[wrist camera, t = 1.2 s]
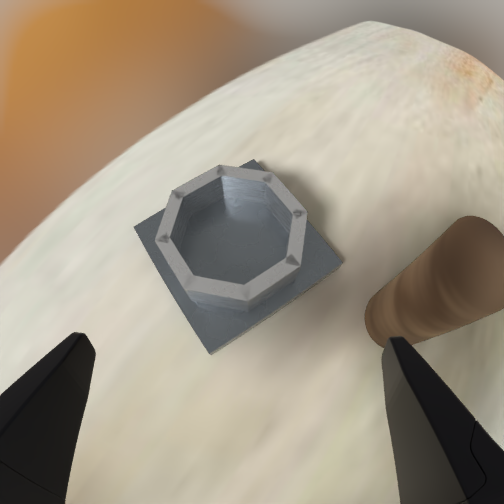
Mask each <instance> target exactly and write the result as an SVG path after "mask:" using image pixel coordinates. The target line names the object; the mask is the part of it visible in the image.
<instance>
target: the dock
mask: <svg viewBox="0 0 504 504" xmlns="http://www.w3.org/2000/svg"><path fill="white" fill-rule="evenodd" d="M307 213H308V211H307V210H306V209H305V208H304V207H303V206H302V205H301V204H300V202H299V201H298V200H297V199H296V198H295V197H294V196H293V194H292V193H291V192H290V191H289V190H288V189H287V188H286V187H285V185H284V184H283V183H282V182H281V181H280V180H279V179H278V178H277V177H276V175H275V174H274V173H273V172H266V171H264V170H263V169H262V168H261V166H260V165H259V164H258V163H257V162H256V161H255V160H254V159H253V160H251V161H249V162H247V163H245V164H243V165H242V166H240V167H232V166H224V165H218V166H216V167H214V168H212V169H210V170H209V171H207V172H205V173H203V174H201V175H199V176H198V177H196V178H194V179H192V180H190V181H188V182H187V183H185V184H183V185H181V186H180V187H178V188H176V189H174V190H172V192H171V195H170V198H169V200H168V203H167V206H166V208H164V209H163V210H161V211H159V212H158V213H156V214H154V215H153V216H151V217H149V218H148V219H146V220H144V221H143V222H141V223H139V224H138V225H136V226H134V229H135V230H136V232H137V234H138V236H139V238H140V240H141V241H142V243H143V245H144V247H145V249H146V251H147V252H148V254H149V256H150V258H151V259H152V261H153V263H154V265H155V266H156V268H157V270H158V272H159V273H160V275H161V277H162V279H163V280H164V282H165V284H166V285H167V287H168V289H169V290H170V292H171V294H172V295H173V297H174V299H175V300H176V302H177V304H178V305H179V307H180V309H181V310H182V312H183V314H184V315H185V317H186V318H187V320H188V322H189V323H190V325H191V326H192V328H193V330H194V331H195V333H196V334H197V336H198V337H199V339H200V340H201V342H202V344H203V345H204V347H205V348H206V350H207V351H208V353H209V354H210V355H212V354H214V353H215V352H217V351H218V350H220V349H221V348H223V347H225V346H226V345H228V344H229V343H231V342H232V341H234V340H235V339H237V338H238V337H240V336H241V335H243V334H244V333H246V332H247V331H249V330H251V329H252V328H254V327H255V326H257V325H258V324H260V323H261V322H262V321H264V320H265V319H267V318H268V317H270V316H271V315H273V314H274V313H276V312H277V311H279V310H280V309H282V308H283V307H284V306H286V305H287V304H289V303H290V302H292V301H293V300H295V299H296V298H297V297H299V296H300V295H302V294H303V293H305V292H306V291H307V290H309V289H310V288H312V287H313V286H314V285H316V284H317V283H319V282H320V281H321V280H323V279H324V278H326V277H327V276H328V275H330V274H331V273H332V272H334V271H335V270H337V269H338V268H339V267H340V266H341V264H342V263H343V262H342V261H341V260H340V259H339V258H338V256H337V255H336V254H335V253H334V251H333V250H332V249H331V248H330V247H329V245H328V244H327V243H326V242H325V240H324V239H323V238H322V237H321V236H320V234H319V233H318V232H317V231H316V230H315V228H314V227H313V226H312V225H311V224H310V223H309V221H308V220H307Z"/></svg>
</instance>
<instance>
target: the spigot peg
mask: <svg viewBox="0 0 504 504" xmlns="http://www.w3.org/2000/svg"><path fill="white" fill-rule="evenodd" d="M503 308H504V236H503V234H502V233H501V232H500V231H499V230H498V229H497V228H496V227H495V226H494V225H493V224H491V223H490V222H488V221H487V220H485V219H483V218H480V217H476V216H465V217H462V218H460V219H458V220H457V221H456V222H454V223H453V224H452V225H451V226H450V227H449V228H448V229H447V230H446V231H445V232H444V233H443V234H442V235H441V236H440V237H439V238H438V239H437V240H436V241H435V242H434V243H433V244H432V245H431V246H429V247H428V248H427V249H426V250H425V251H424V252H423V253H422V254H421V255H420V256H419V257H418V258H416V259H415V260H414V261H413V262H412V263H411V264H410V265H409V266H408V267H406V268H405V269H404V270H403V271H402V272H401V273H400V274H398V275H397V276H396V277H395V278H394V279H393V280H392V281H390V282H389V283H388V284H387V285H386V286H385V287H383V288H382V289H381V290H380V291H379V292H377V293H376V294H375V295H374V296H373V297H372V298H371V299H370V301H369V303H368V305H367V307H366V311H365V324H366V328H367V331H368V333H369V335H370V336H371V338H372V339H373V340H374V341H375V342H376V343H377V344H378V345H380V346H381V347H383V348H385V345H386V342H387V339H388V338H389V337H392V336H403V337H404V338H405V339H406V340H407V341H408V342H409V343H410V344H411V345H413V344H416V343H419V342H422V341H425V340H428V339H430V338H433V337H436V336H439V335H441V334H444V333H447V332H449V331H452V330H455V329H457V328H460V327H462V326H465V325H467V324H470V323H472V322H474V321H477V320H479V319H481V318H484V317H486V316H488V315H491V314H493V313H495V312H497V311H500V310H502V309H503Z"/></svg>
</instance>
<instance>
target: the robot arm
mask: <svg viewBox="0 0 504 504" xmlns="http://www.w3.org/2000/svg"><path fill="white" fill-rule="evenodd" d="M95 356H96V353H95V349H94V347H93V346H92V344H91V342H90V341H89V339H88V337H87V336H86V334H84V333H79V332H74V333H72V334H70V335H69V336H68V337H67V338H66V339H64V340H63V341H62V342H61V343H60V344H58V345H57V346H56V347H55V348H54V349H53V350H51V351H50V352H49V353H48V354H47V355H45V356H44V357H43V358H42V359H41V360H40V361H38V362H37V363H36V364H35V365H34V366H33V367H32V368H30V369H29V370H28V371H27V372H26V373H25V374H23V375H22V376H21V377H20V378H19V379H18V380H17V381H16V382H14V383H13V384H12V385H11V386H10V387H9V388H8V389H7V390H5V391H4V392H3V393H2V394H1V395H0V504H65V499H66V493H67V487H68V482H69V477H70V471H71V466H72V462H73V457H74V452H75V448H76V443H77V439H78V435H79V430H80V426H81V422H82V418H83V414H84V411H85V407H86V403H87V399H88V394H89V389H90V383H91V378H92V372H93V367H94V362H95ZM382 370H383V381H384V392H385V405H386V412H387V418H388V424H389V429H390V435H391V441H392V447H393V453H394V459H395V466H396V473H397V480H398V488H399V496H400V504H504V451H503V449H502V448H501V447H500V446H499V445H498V444H497V443H496V442H495V441H494V440H493V439H492V438H491V437H490V435H489V434H488V433H487V432H486V431H485V430H484V428H483V427H482V426H481V425H480V424H479V422H478V421H475V418H474V416H473V415H472V414H471V413H470V412H469V411H468V409H467V408H466V407H465V406H464V405H463V403H462V402H461V401H460V400H459V399H458V398H457V396H456V395H455V394H454V393H453V392H452V391H451V389H450V388H449V387H448V386H447V385H446V384H445V382H444V381H443V380H442V379H441V378H440V377H439V376H438V374H437V373H436V372H435V371H434V370H433V369H432V368H431V367H430V365H429V364H428V363H427V362H426V361H425V360H424V359H423V358H422V356H421V355H420V354H419V353H418V352H417V351H416V350H415V349H414V348H413V347H412V345H411V344H410V343H409V342H408V341H407V340H406V339H405V338H404V337H403V336H392V337H389V338H388V339H387V342H386V345H385V348H384V351H383V354H382Z"/></svg>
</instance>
